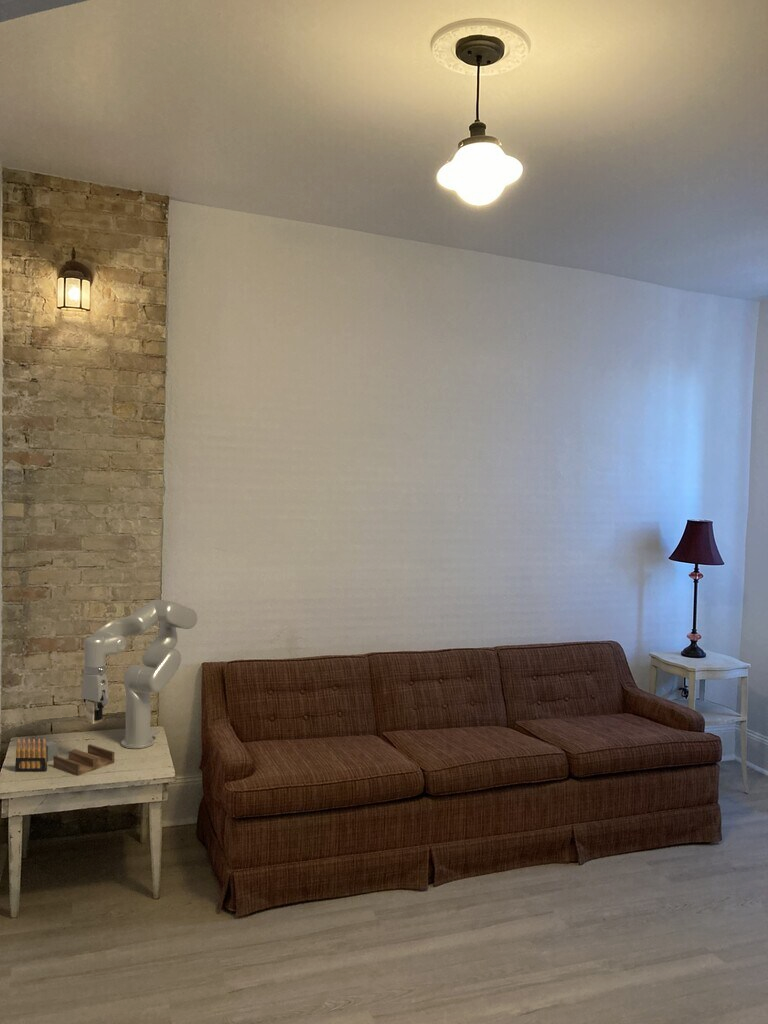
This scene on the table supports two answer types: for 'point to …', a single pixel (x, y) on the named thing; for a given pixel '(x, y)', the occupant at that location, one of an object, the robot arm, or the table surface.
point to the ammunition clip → (31, 757)
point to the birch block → (91, 712)
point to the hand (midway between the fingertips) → (94, 717)
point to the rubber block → (50, 750)
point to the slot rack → (84, 760)
